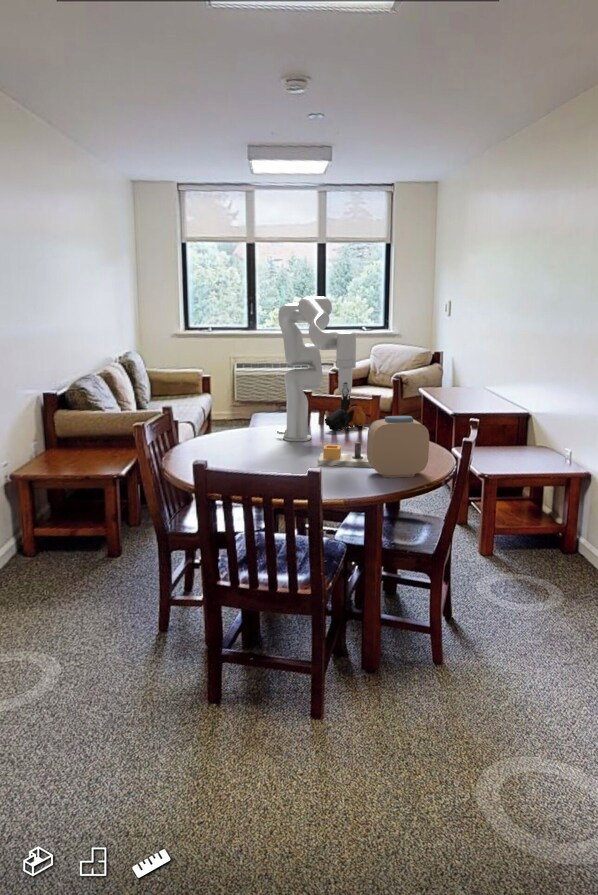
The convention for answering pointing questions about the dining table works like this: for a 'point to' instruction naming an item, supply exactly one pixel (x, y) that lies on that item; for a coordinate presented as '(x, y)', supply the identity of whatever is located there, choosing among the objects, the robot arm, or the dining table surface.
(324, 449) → the orange square frame
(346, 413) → the tool
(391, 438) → the alarm clock
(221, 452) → the dining table surface
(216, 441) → the dining table surface
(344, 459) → the peg board
